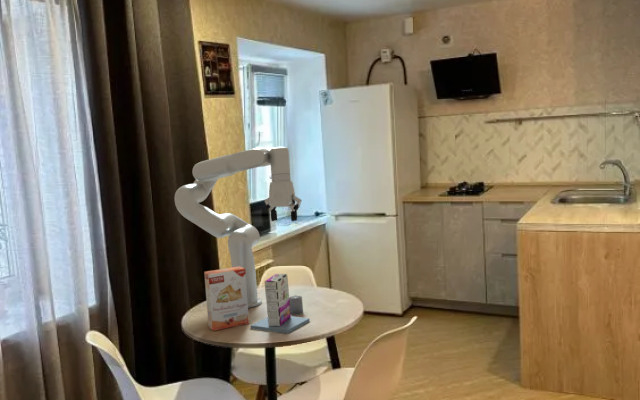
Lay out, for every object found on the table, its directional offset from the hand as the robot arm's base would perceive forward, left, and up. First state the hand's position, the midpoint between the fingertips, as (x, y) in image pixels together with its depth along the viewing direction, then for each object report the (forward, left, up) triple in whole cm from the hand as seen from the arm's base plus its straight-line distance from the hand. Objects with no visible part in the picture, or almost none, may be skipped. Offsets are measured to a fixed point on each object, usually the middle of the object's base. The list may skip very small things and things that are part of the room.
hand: (284, 220), depth 228 cm
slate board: (+12, -24, -34) cm, 44 cm away
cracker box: (-6, -31, -34) cm, 47 cm away
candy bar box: (+12, -24, -33) cm, 43 cm away
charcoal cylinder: (+9, -9, -34) cm, 37 cm away
